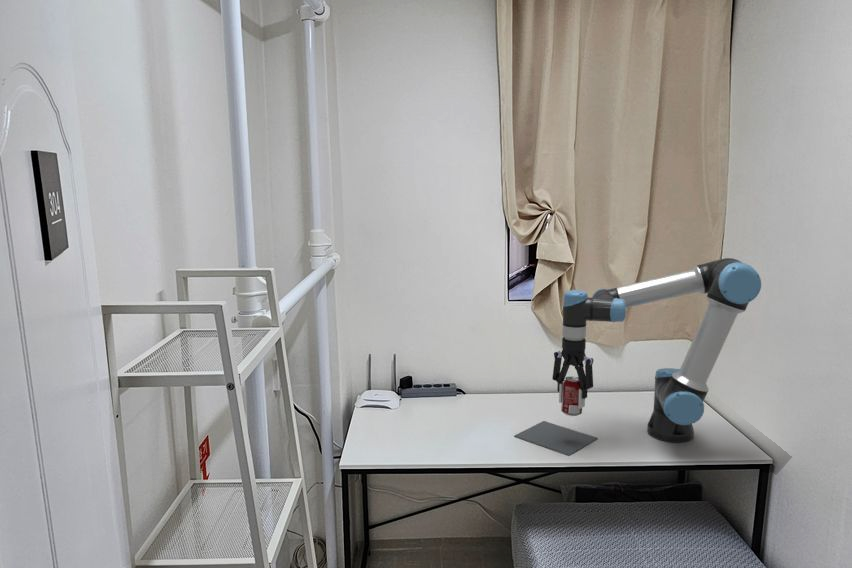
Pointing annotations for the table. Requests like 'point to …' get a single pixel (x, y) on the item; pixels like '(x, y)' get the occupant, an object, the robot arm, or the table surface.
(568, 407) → the soda can
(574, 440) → the rubber mat
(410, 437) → the table surface
